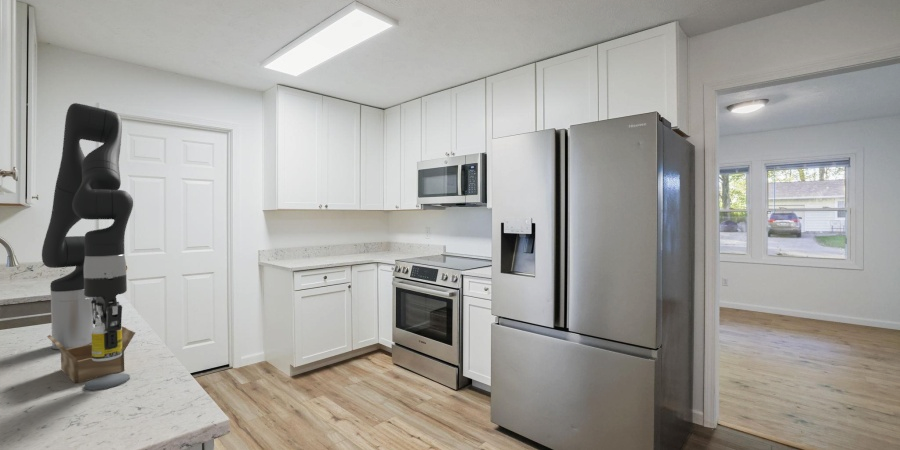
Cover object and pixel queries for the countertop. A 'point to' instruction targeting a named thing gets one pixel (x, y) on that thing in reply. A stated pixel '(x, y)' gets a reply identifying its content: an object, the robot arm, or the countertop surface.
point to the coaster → (107, 381)
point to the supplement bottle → (98, 344)
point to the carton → (90, 360)
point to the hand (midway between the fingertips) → (107, 345)
